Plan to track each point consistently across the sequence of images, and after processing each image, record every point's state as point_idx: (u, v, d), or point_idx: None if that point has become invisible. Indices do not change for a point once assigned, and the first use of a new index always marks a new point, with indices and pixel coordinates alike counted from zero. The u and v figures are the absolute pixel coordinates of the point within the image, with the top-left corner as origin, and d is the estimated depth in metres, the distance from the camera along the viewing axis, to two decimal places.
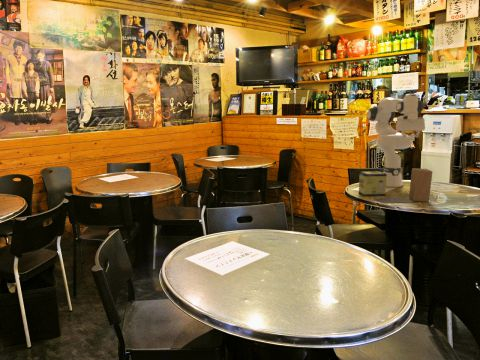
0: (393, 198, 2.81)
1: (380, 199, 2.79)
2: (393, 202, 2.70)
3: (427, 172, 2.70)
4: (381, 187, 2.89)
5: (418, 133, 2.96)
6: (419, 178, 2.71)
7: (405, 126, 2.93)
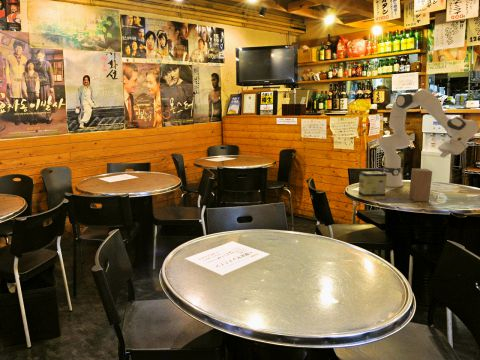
0: (393, 198, 2.81)
1: (380, 199, 2.79)
2: (393, 202, 2.70)
3: (427, 172, 2.70)
4: (381, 187, 2.89)
5: None
6: (419, 178, 2.71)
7: None
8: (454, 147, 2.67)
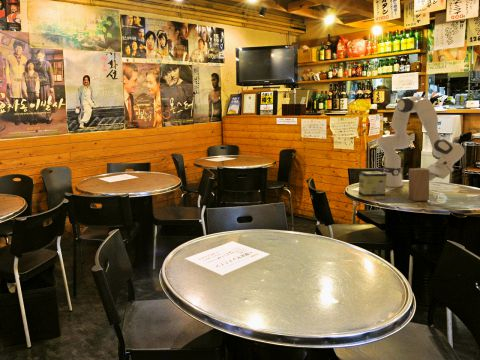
0: (393, 198, 2.81)
1: (380, 199, 2.79)
2: (393, 202, 2.70)
3: (424, 171, 2.71)
4: (381, 187, 2.89)
5: None
6: (417, 178, 2.72)
7: None
8: (440, 171, 2.69)
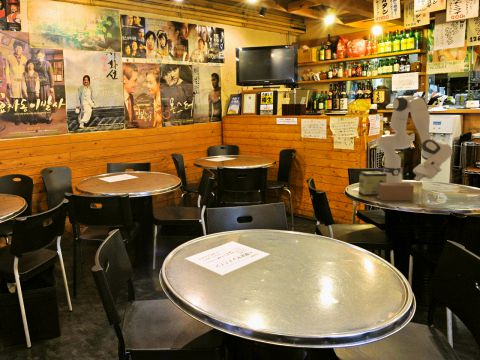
0: None
1: (380, 199, 2.79)
2: (393, 202, 2.70)
3: (383, 190, 2.75)
4: None
5: None
6: (389, 196, 2.75)
7: None
8: (427, 171, 2.69)
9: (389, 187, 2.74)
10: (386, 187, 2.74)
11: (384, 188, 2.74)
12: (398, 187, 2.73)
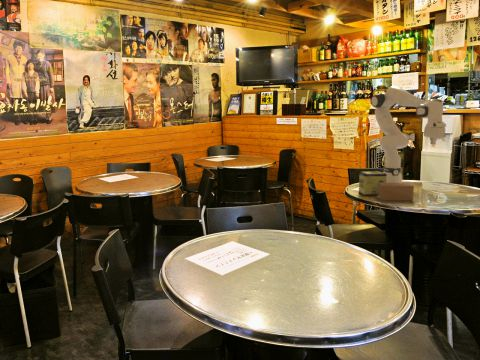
0: None
1: (380, 199, 2.79)
2: (393, 202, 2.70)
3: (383, 190, 2.75)
4: None
5: (433, 140, 2.87)
6: (389, 196, 2.75)
7: None
8: (436, 133, 2.78)
9: (389, 187, 2.74)
10: (386, 187, 2.74)
11: (384, 188, 2.74)
12: (398, 187, 2.73)
